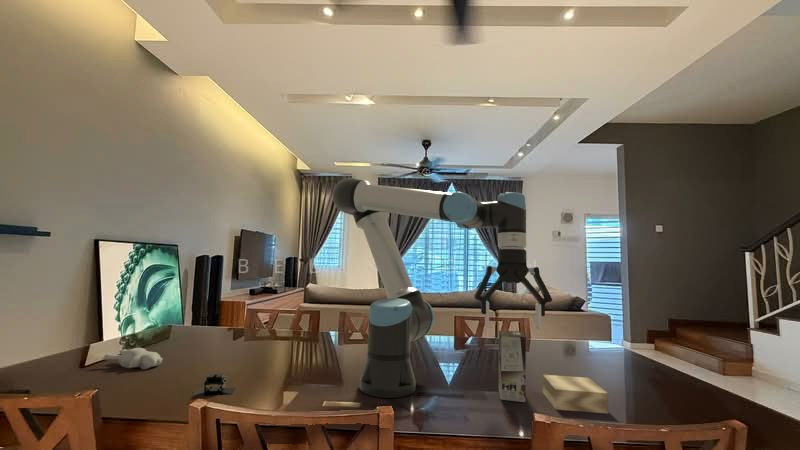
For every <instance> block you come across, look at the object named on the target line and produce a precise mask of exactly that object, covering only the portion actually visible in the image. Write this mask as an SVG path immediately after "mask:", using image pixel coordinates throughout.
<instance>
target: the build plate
mask: <svg viewBox="0 0 800 450" xmlns="http://www.w3.org/2000/svg"><path fill="white" fill-rule="evenodd" d="M225 374H226V373H209V374H208V375H207V376H206V379H205V380H204V383H203V385H204V388H197V389H196V390H195V391H194V393H193V394H191V397H206V396H207V397H208V396H231V395H233V394H234V392H235V391H236V389H237V387H234V386H233V387H226V382H227V379H226V378H227V377H226V376H225ZM211 385H218V386H211Z"/></svg>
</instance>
